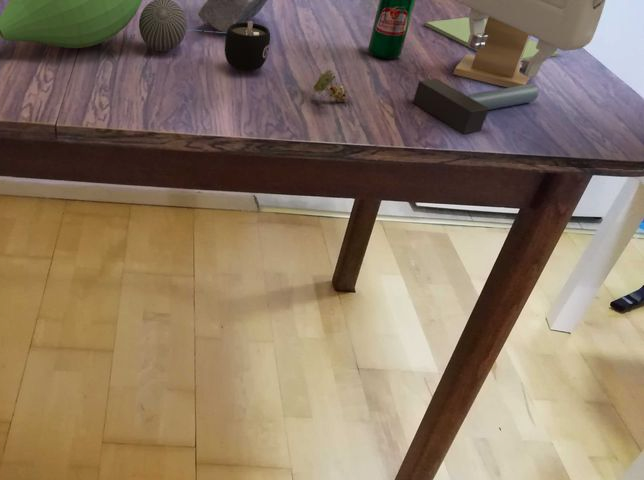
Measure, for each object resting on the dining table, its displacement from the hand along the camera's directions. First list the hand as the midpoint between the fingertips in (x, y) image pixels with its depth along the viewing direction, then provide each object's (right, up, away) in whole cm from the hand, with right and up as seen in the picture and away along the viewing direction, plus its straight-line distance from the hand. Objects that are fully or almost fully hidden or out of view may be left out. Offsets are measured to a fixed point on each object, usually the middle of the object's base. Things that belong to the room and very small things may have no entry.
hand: (500, 60), depth 90 cm
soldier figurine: (-23, -2, +1) cm, 23 cm away
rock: (-30, +21, +16) cm, 40 cm away
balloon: (-73, +3, +5) cm, 73 cm away
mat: (+10, +14, +25) cm, 30 cm away
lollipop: (-37, +13, +12) cm, 41 cm away
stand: (+5, +3, +13) cm, 15 cm away
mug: (-32, +5, +12) cm, 35 cm away
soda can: (-10, +8, +18) cm, 22 cm away
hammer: (0, -5, +4) cm, 6 cm away
